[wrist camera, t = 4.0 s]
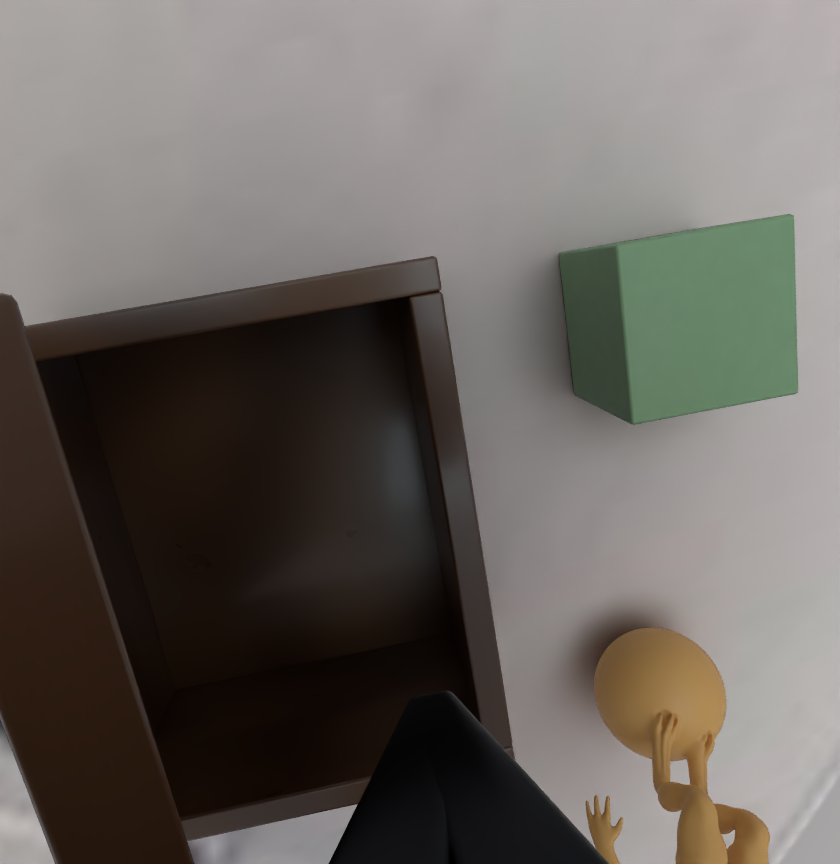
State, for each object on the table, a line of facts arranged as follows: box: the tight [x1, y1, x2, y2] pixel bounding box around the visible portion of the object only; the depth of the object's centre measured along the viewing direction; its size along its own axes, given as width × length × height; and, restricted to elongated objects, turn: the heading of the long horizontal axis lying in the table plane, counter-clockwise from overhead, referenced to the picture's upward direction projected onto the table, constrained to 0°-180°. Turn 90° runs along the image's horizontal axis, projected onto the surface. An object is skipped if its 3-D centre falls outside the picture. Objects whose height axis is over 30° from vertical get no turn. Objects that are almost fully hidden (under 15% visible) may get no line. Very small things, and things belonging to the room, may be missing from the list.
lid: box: [0, 293, 194, 864], centre depth 9 cm, size 11×12×1 cm
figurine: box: [586, 628, 770, 864], centre depth 17 cm, size 8×6×12 cm
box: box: [25, 256, 515, 841], centre depth 17 cm, size 10×12×6 cm
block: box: [559, 214, 798, 425], centre depth 18 cm, size 4×4×4 cm
